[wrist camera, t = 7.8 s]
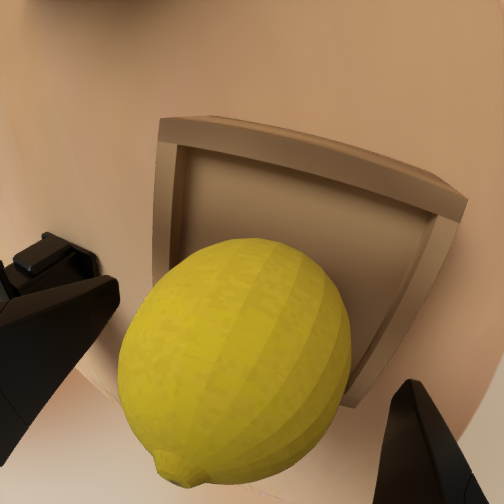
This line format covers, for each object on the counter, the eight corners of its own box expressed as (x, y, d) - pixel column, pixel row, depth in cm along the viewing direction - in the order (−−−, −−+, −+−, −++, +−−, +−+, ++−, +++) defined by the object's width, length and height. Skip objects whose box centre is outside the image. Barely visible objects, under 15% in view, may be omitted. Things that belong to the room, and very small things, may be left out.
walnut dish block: (359, 349, 15) (354, 408, 12) (193, 294, 17) (155, 338, 14) (433, 173, 10) (468, 199, 7) (213, 115, 12) (159, 118, 9)
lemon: (258, 353, 13) (180, 515, 6) (182, 249, 12) (26, 386, 5) (378, 308, 10) (373, 531, 3) (302, 174, 9) (155, 338, 2)
